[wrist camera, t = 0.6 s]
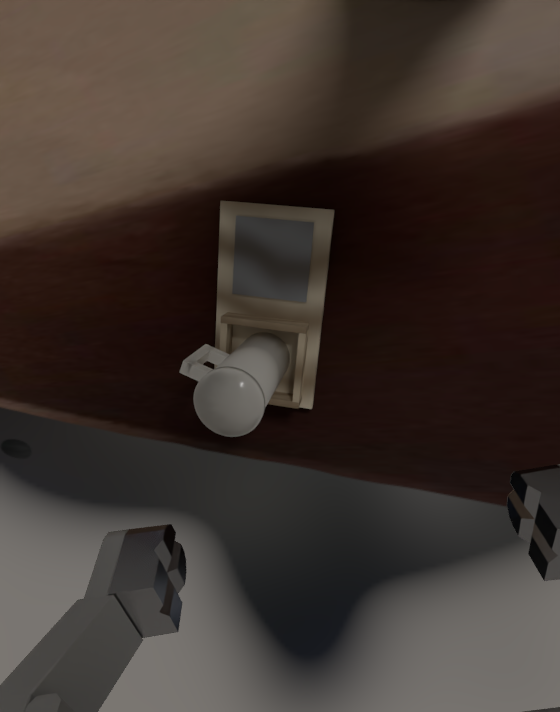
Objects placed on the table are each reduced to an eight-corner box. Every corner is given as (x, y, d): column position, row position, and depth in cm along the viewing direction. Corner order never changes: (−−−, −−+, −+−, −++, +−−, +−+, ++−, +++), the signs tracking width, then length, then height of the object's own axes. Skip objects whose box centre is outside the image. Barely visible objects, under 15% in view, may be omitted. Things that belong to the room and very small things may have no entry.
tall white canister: (300, 344, 55) (274, 387, 41) (279, 391, 57) (248, 448, 43) (228, 312, 55) (178, 344, 41) (211, 360, 58) (158, 406, 44)
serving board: (223, 200, 53) (213, 199, 49) (334, 209, 51) (331, 209, 47) (216, 390, 60) (206, 401, 57) (312, 405, 58) (308, 417, 54)
